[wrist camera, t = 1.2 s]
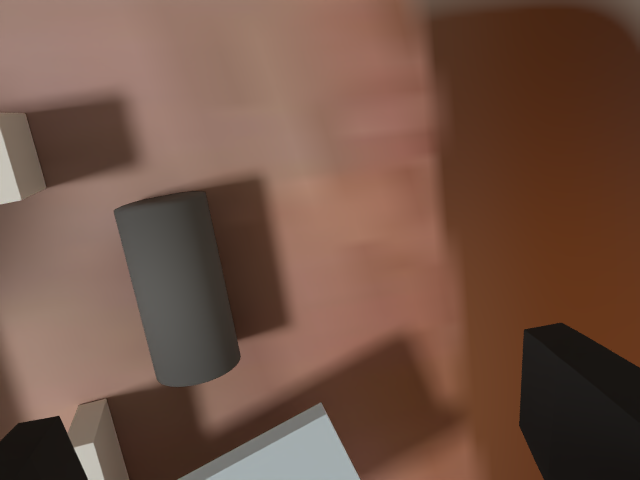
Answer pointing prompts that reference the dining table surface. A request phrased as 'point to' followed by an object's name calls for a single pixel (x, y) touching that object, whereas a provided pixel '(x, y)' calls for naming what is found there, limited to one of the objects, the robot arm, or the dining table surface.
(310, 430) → the cover
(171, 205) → the gray tin can
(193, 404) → the dining table surface
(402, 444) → the dining table surface
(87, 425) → the pale grey rectangular block
